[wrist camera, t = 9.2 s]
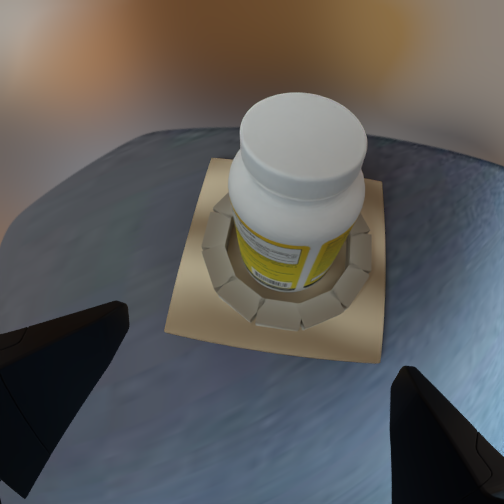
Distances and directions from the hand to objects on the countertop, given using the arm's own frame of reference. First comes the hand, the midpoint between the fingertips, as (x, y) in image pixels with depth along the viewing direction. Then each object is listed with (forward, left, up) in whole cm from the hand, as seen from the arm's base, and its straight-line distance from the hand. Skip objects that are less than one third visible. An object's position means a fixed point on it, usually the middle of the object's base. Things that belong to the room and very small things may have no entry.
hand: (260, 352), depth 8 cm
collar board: (+8, -1, -10) cm, 13 cm away
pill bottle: (+8, -1, -10) cm, 12 cm away
